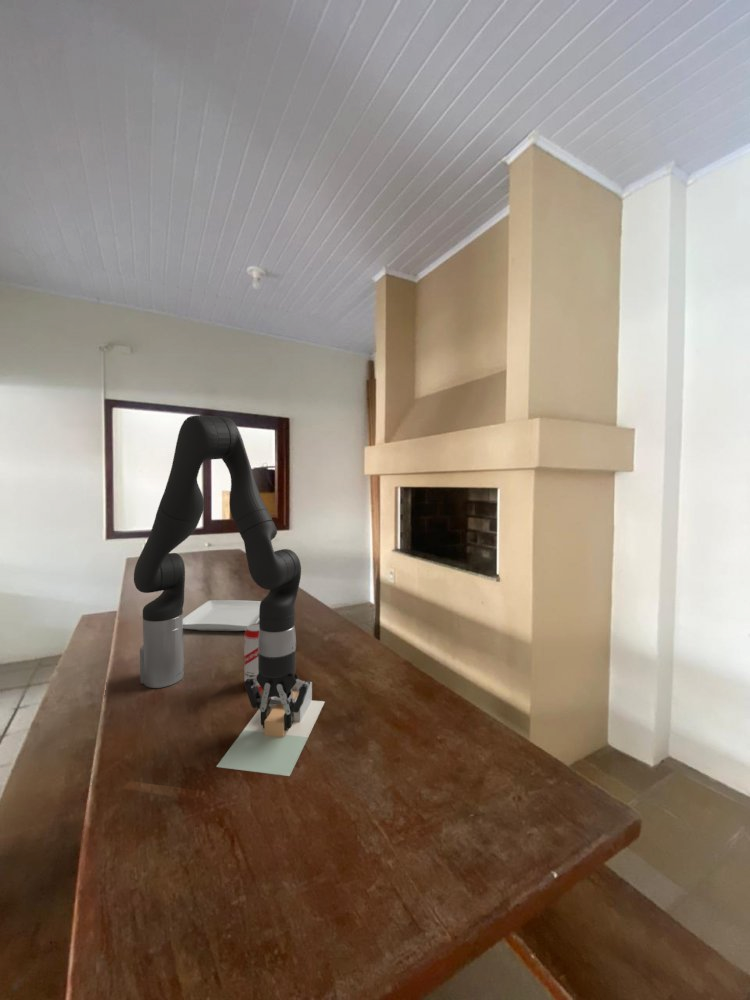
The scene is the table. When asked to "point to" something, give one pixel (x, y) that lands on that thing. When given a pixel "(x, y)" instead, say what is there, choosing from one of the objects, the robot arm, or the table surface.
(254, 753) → the two-tone mat
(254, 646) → the beer can
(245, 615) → the square plate
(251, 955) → the table surface
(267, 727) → the tan wooden plank
